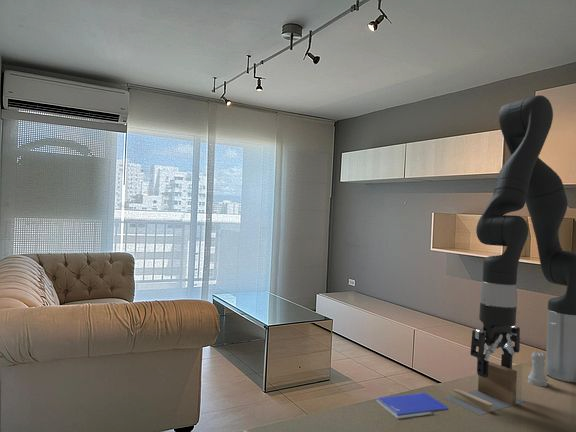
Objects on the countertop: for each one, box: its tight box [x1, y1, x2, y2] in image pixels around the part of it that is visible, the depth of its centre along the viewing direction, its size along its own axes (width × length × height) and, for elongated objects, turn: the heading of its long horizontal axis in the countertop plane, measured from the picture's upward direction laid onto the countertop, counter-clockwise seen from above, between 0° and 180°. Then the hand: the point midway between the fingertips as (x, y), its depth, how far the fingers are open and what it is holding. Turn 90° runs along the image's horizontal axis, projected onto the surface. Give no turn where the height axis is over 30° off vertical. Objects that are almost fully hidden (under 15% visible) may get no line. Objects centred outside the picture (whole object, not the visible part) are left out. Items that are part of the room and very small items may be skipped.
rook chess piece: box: [527, 350, 548, 387], centre depth 109 cm, size 4×4×8 cm
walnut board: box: [477, 361, 518, 404], centre depth 99 cm, size 2×8×7 cm, turn 30°
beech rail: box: [452, 388, 494, 413], centre depth 95 cm, size 1×9×2 cm, turn 30°
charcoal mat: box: [444, 389, 526, 416], centre depth 97 cm, size 16×9×1 cm, turn 120°
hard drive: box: [375, 392, 449, 420], centre depth 93 cm, size 2×8×12 cm
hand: (494, 373), depth 99 cm, fingers open, 8 cm apart
